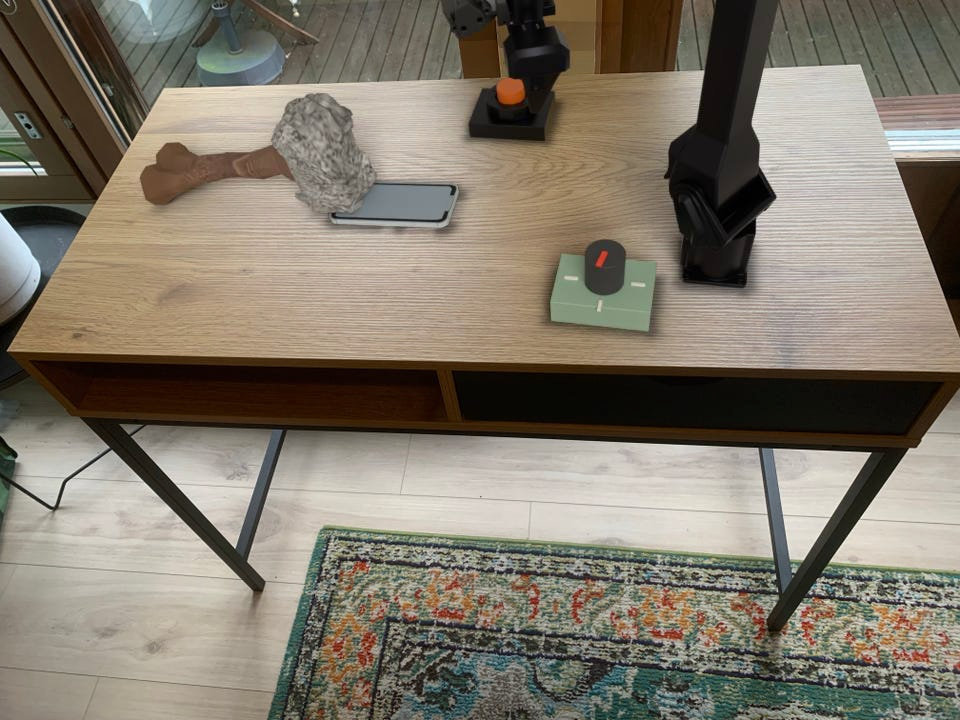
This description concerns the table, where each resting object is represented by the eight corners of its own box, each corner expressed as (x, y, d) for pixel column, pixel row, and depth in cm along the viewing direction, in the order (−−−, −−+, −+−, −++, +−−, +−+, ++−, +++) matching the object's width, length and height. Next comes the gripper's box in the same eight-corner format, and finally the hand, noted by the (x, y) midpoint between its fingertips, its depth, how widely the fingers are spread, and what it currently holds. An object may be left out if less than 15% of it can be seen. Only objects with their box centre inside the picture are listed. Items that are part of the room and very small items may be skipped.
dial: (592, 263, 78) (592, 233, 74) (629, 272, 76) (631, 241, 73) (578, 290, 75) (578, 260, 72) (616, 299, 74) (618, 269, 71)
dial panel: (655, 277, 79) (657, 256, 77) (647, 336, 75) (650, 315, 72) (562, 269, 82) (562, 248, 79) (549, 325, 77) (548, 305, 75)
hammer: (202, 176, 104) (395, 161, 93) (178, 237, 100) (376, 228, 89) (127, 98, 91) (340, 71, 81) (96, 164, 87) (316, 144, 77)
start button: (527, 89, 97) (526, 77, 95) (522, 106, 95) (521, 93, 93) (500, 88, 98) (499, 76, 96) (494, 104, 96) (493, 92, 94)
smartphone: (345, 180, 94) (459, 183, 91) (347, 186, 95) (460, 189, 91) (326, 219, 90) (446, 224, 86) (329, 225, 90) (447, 230, 87)
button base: (555, 105, 100) (554, 78, 97) (544, 141, 96) (543, 114, 93) (483, 102, 102) (480, 75, 99) (470, 137, 98) (466, 111, 95)
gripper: (432, -81, 78) (451, 56, 91) (448, 6, 67) (468, 149, 79) (536, -98, 78) (541, 41, 91) (570, -13, 67) (571, 133, 79)
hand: (528, 88), depth 85 cm, fingers open, 9 cm apart
